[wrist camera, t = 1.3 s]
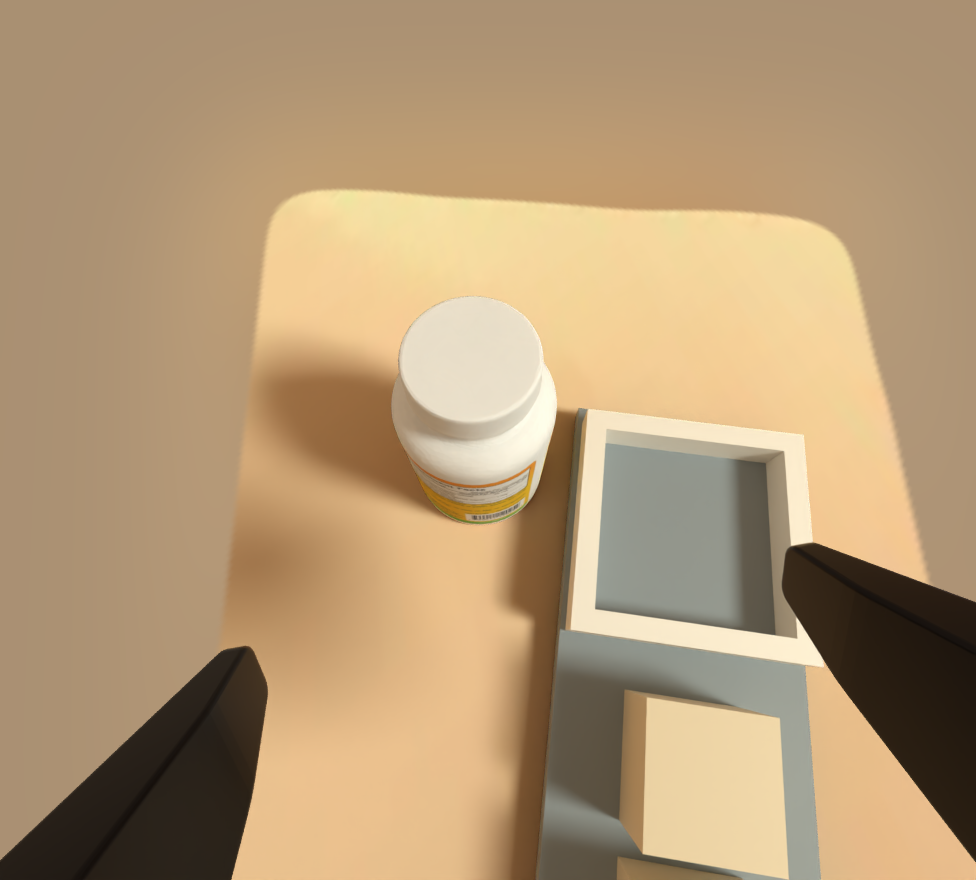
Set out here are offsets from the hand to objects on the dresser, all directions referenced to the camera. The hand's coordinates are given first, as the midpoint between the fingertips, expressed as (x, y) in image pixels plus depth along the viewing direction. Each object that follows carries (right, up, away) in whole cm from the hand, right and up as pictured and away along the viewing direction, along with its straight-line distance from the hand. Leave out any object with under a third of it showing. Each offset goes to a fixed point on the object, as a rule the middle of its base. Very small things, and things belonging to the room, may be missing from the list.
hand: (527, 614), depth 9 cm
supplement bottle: (-1, +2, +15) cm, 15 cm away
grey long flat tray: (+6, -7, +11) cm, 14 cm away
